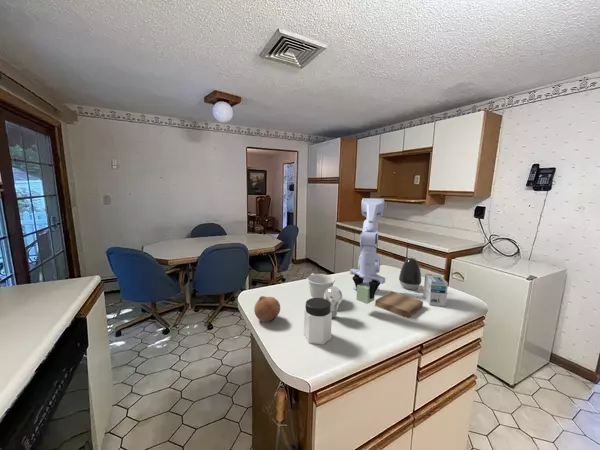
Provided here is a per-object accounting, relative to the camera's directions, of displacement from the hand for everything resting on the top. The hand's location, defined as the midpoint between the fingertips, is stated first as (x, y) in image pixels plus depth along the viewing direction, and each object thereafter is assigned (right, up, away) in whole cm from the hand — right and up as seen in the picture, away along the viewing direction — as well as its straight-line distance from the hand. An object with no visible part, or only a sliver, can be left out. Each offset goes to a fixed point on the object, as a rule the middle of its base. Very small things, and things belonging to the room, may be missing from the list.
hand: (365, 295), depth 103 cm
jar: (-20, -9, -17) cm, 28 cm away
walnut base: (+16, -6, +6) cm, 18 cm away
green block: (0, -2, 0) cm, 2 cm away
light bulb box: (+33, -6, +12) cm, 36 cm away
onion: (-38, -7, -7) cm, 39 cm away
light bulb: (-14, -7, -4) cm, 16 cm away
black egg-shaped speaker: (+29, -3, +27) cm, 40 cm away
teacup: (-18, -5, +12) cm, 22 cm away
